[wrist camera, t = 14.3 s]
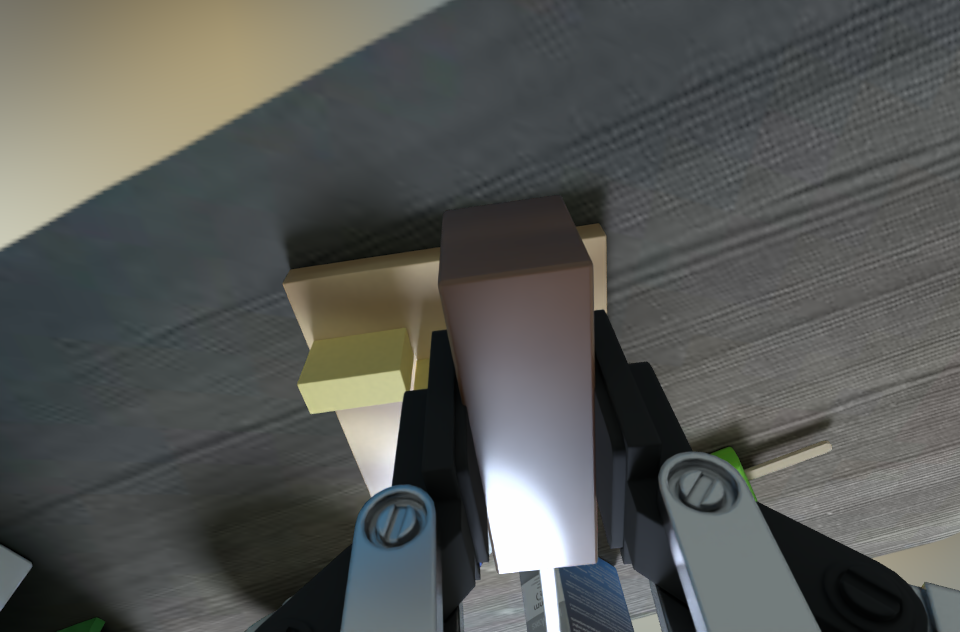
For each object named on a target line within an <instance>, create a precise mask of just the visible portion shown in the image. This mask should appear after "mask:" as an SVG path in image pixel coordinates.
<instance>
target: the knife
mask: <svg viewBox="0 0 960 632" xmlns="http://www.w3.org/2000/svg"><path fill="white" fill-rule="evenodd" d="M438 290H439V294H440V299H441V304H442V309H443V314H444V319H445V324H446V328H447V333H448V338H449V343H450V348H451V353H452V357H453V362H454V367H455V372H456V377H457V382H458V387H459V391H460V396H461V401H462V404H463V405H466V407H467V412H468V417H469V422H470V427H471V432H472V437H473V442H474V447H475V452H476V457H477V462H478V467H479V472H480V477H481V482H482V488H483V493H484V498H485V503H486V508H487V523H488V532H489V537H490V542H491V547H492V552H493V556H494V561H495V566H496V571H497V573H499V574H504V573H514V572H523V571H533V570H539V578H540V586H541V594H542V602H543V610H544V618H545V625H546V632H561V622H560V611H559V601H558V590H557V580H556V569H555V568H561V567H570V566H580V565H589V564H596V563H597V562H598V527H597V498H596V458H595V391H594V389H595V336H594V272H593V262H592V260H591V258H590V256H589V254H588V252H587V250H586V247H585V245H584V243H583V241H582V239H581V237H580V235H579V232H578V230H577V228H576V226H575V224H574V222H573V220H572V218H571V215H570V213H569V211H568V209H567V207H566V205H565V203H564V201H563V198H562V196H560V195H554V196H547V197H540V198H533V199H525V200H518V201H511V202H504V203H497V204H490V205H483V206H475V207H468V208H461V209H454V210H447V211H445V212H444V213H443V220H442V233H441V246H440V259H439V272H438Z"/></svg>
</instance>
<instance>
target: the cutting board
mask: <svg viewBox="0 0 960 632" xmlns="http://www.w3.org/2000/svg"><path fill="white" fill-rule="evenodd" d="M576 228H577V230H578V232H579V235H580V237H581V239H582V241H583V243H584V245H585V247H586V250H587V252H588V254H589V256H590V258H591V260H592V262H593V272H594V310H601V309H604V310H605V312H606V314H607V246H606V234H605V233H604V231H603V229H602V227H601V226H600V224H599V223H597V224H590V225H584V226H577V227H576ZM439 259H440V247H437V248H430V249H424V250H417V251H410V252H404V253H397V254H390V255H384V256H377V257H370V258H364V259H357V260H350V261H344V262H337V263H330V264H324V265H317V266H310V267H304V268H297V269H291V270H290V271H289V273H288V274H287V276H286V278H285V280H284V282H283V286H284V289H285V291H286V294H287V296H288V298H289V301H290V303H291V306H292V308H293V310H294V313H295V315H296V318H297V320H298V323H299V325H300V327H301V330H302V332H303V335H304V337H305V339H306V342H307V344H308V347H309V349H311V347H312V344H313V342H314V341H316V340H323V339H330V338H337V337H344V336H351V335H358V334H365V333H372V332H379V331H385V330H392V329H399V328H406V330H407V333H408V337H409V341H410V344H411V348H412V351H413V355H414V361H413V370H412V379H411V388H410V391H411V390H414V382H415V372H416V362H417V360H419V359H427V358H430V348H431V335H432V331H437V330H445V329H447V328H446V324H445V319H444V314H443V309H442V304H441V299H440V294H439V290H438V272H439ZM402 402H403V401H401V402H394V403H387V404H380V405H372V406H365V407H358V408H351V409H343V410H336V414H337V416H338V419H339V421H340V423H341V426H342V428H343V431H344V433H345V435H346V438H347V440H348V443H349V445H350V447H351V450H352V452H353V455H354V457H355V460H356V462H357V464H358V467H359V469H360V472H361V474H362V476H363V479H364V481H365V484H366V486H367V488H368V491H369V493H370V496H371V497H372V496H374V495H375V494H376V493H378V492H380V491H382V490H383V489H385V488H388V487H391V486H392V478H393V470H394V463H395V455H396V447H397V440H398V432H399V425H400V417H401V409H402Z"/></svg>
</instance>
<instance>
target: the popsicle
mask: <svg viewBox="0 0 960 632" xmlns="http://www.w3.org/2000/svg"><path fill="white" fill-rule="evenodd" d="M831 449H832V446H831V444H830V443H829V442H828V441H821V442H819V443H816V444H813V445H810V446H808V447H805V448H802V449H800V450H797V451H794V452H791V453H789V454H786V455H783V456H781V457H778V458H775V459H772V460H770V461H767V462H764V463H761V464H759V465H756V466H753V467H751V468H748V469H745V470H743V467H742V465H741V463H740V461H739V458H738V456H737V455H736V453H735V451H734V450H733V448H732V447H727V448H724V449H721V450H719V451H716V452H714V453H711V455H715V456H717V457H719V458H721V459H723V460H725V461H727V462H728V463H730V464H731V465H732V466H733V467H734V468H736V469H737V470H738V471H739V473H740V474H741V475H742V477H743V478H744V480H745V481H746V483H747V485H748V487H749V489H750V491H751V493H752V495H753V497H754V499H755V501H757V499H756V496H755V494H754V492H753V490H752V487H751V485H750V483H749V480H752V479H755V478H758V477H760V476H763V475H766V474H769V473H771V472H774V471H777V470H780V469H783V468H785V467H788V466H791V465H794V464H796V463H799V462H802V461H805V460H808V459H810V458H813V457H816V456H819V455H821V454H824V453H827V452H829V451H830V450H831ZM757 502H758V501H757Z"/></svg>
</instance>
